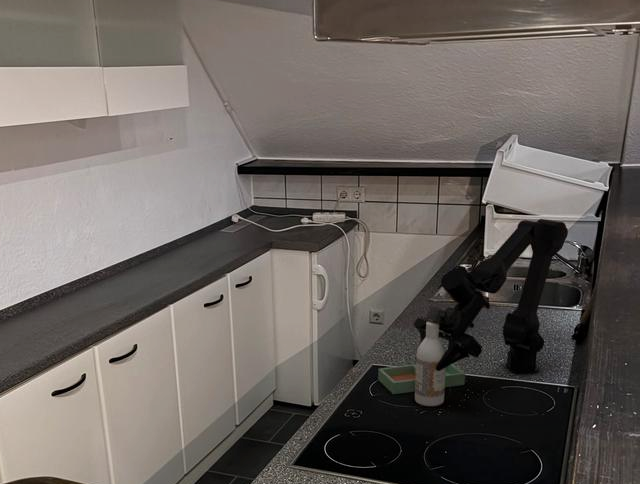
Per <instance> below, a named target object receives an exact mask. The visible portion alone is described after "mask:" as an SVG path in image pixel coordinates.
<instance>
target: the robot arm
mask: <svg viewBox="0 0 640 484" xmlns="http://www.w3.org/2000/svg"><path fill="white" fill-rule="evenodd" d="M568 235H569V229H568V228H567V225H566V223H565V222H563V221H559V220H552V219H545V218H539V219H537V221H534V220H529V219H523V220H520V221H519V222H518V224H517V226H516V229H515V230H513V232H512V233H511V235H510V236H509V237H508V238H507V239H506V240H505V241H504V242H503V243H502V244H501V246H500V247H499V248H498V249H497V250H496V252H495V253H493V255H492V256H490V257H489V258H486V259H483V260H481V261H480V262H478V263H477V264H476V265H475V266H474V267H473V268H472V269H471V270H470V271H468V269H467V268H466V267H465V266H464V265H463V266H462V265H457V266H456V268H454V269H452V270H449V271H448V272H446V273H445V274H443V276H442V277H441V280H440V284H441V287H442V288H443V290H444V291H445V292H446V293H447V294H448V296H449V297H450V298H451V300H452V301H453V302H455V304H454V305H453V306H452V307H450V306H448V307H447V308H446V309H445V310H444V309H441V308H438V307H435V306H432V305H429V307H428V310H427V312H426V315H425V317H422V316H421V317H417V318H416V320H415V321H414V323H413V324H412V326H413V327H415V329H417V332H418V333H419V336H420V341H419V344H418V347H419V346H420V344H421V343H422V341H423V340H424V339H425V337H426V323H427V322H428V321H434V322H437V323H439V336H438V337H439V339H443V340H445V341H448V345H447V349H446V350H445V351H446V352H445V354H444V355H443V357H442V358H441V360H440V361H439V363H438V365H437V366H436V370H437V371H440V370H442V369H444V368H446V367H447V366H449V365H451V364H453V365H454V364H455V363H457V362H459V361H461V360H463V359H465V358H468V359H469V358H470V357H474V358H476V359H478V358H479V356H480V355H481V354H482V352H483V345H482V344H480V342H479V341H478V340H477V338H475V337H474V336H473V335H471V334H468V333H466V332H467V330H468V329H469V328H470V329H473V328H474V327H475V324H474V321H475V319H476V318H477V316H478V315H479V314H480V312H481V311H482V309H483V308H485V309H487V310H490V309H491V303H490V297H489V296H486V295H484V294H483V292H484V293H487V294H492V295H493V294H497V293H499V291H500V290H501V289H502V287H503V285H504V284H505V283H506V281H507V277H508V271H509V270H510V268H511V267H512V266H513V265H514V264H515V262H516V261H517V260H518V259H519V258H520V257H521V255H522V254H523V253H524V252H525V251H526V250H527V248H528V247H530V248H531V252H532V254H531V258H530V261H529V264H528V268H527V272H526V275H525V278H524V282H523V286H522V290H521V292H520V296H519V300H518V303H517V307H516V308H515V309H514V310H513V311H512V312H508V313H507V314H506V315H505V320H504V323H503V325H502V335H503V340H504V345H505V346H509V351H507V355H506V362H505V366H506V367H507V368H508V370H510V371H511V372H513V373H514V374H528V373H538V372H539V369H538V368H537V367H536V366H537V357H538V356H537V355H538V353H540V352H541V351H542V350H543V349H544V346H545V339H544V338H543V337H542V336H541V334H540V333H539V330H540V325H541V324H540V320H539V317H538V309H539V306H540V302H541V298H542V295H543V292H544V289H545V285H546V282H547V278H548V274H549V272H550V268H551V264H552V260H553V259H554V257H555V256H556V255H557V254H558V253H559V252H560V251H561V250H562V249H563V247H564V245H565V242H566V239H567V238H568ZM414 359H415V361H416V358H414Z"/></svg>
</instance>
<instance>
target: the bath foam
mask: <svg viewBox="0 0 640 484" xmlns="http://www.w3.org/2000/svg"><path fill="white" fill-rule="evenodd" d="M438 336H439V323H437V322H434V321H433V320H431V321H428V322H427V323H426V337H425V339H424V340H423V341H422V343H421V344H420V343H419V345H420V346H419V345H418V348H417V350H416V355H415V359H416V360H415V364H416V379H415V391H414V401H415V402H416V403H417V404H418V405H420V406H424V407H437V406H441V405H442V404H443V403H444V401H445V391H446V387H445V373H446V368H444V369H442V370H440V371H437V370H436V366H437V365H438V363H439V361H440V360H441V358H442V357H443V355H444V354H445V352H446V351H447V350H446V348H445V346H444V344H443V342H442V340H441V338H440V337H438Z"/></svg>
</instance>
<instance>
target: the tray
mask: <svg viewBox="0 0 640 484" xmlns="http://www.w3.org/2000/svg"><path fill="white" fill-rule="evenodd" d="M377 371H378V372H377V373H378V376H377V380H378V381H379V383H381V385H383V386H384V387H385V388H386V389H387V390H388V391H389V392H390V393H391V394H392V395H398V394H406V393H413V392H414V393H415V379H416V363H411V364H406V365H405V364H404V365H396V366H390V367H380V368H378V370H377ZM465 382H466V373H465V372H464V371H463V370H461V369H460V368H459V367H458V366H456V365H454V363H453V364H451V365H449V366H447V367H446V373H445V388H450V387H451V388H452V387H459V386H464V385H465V384H466V383H465Z"/></svg>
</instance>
